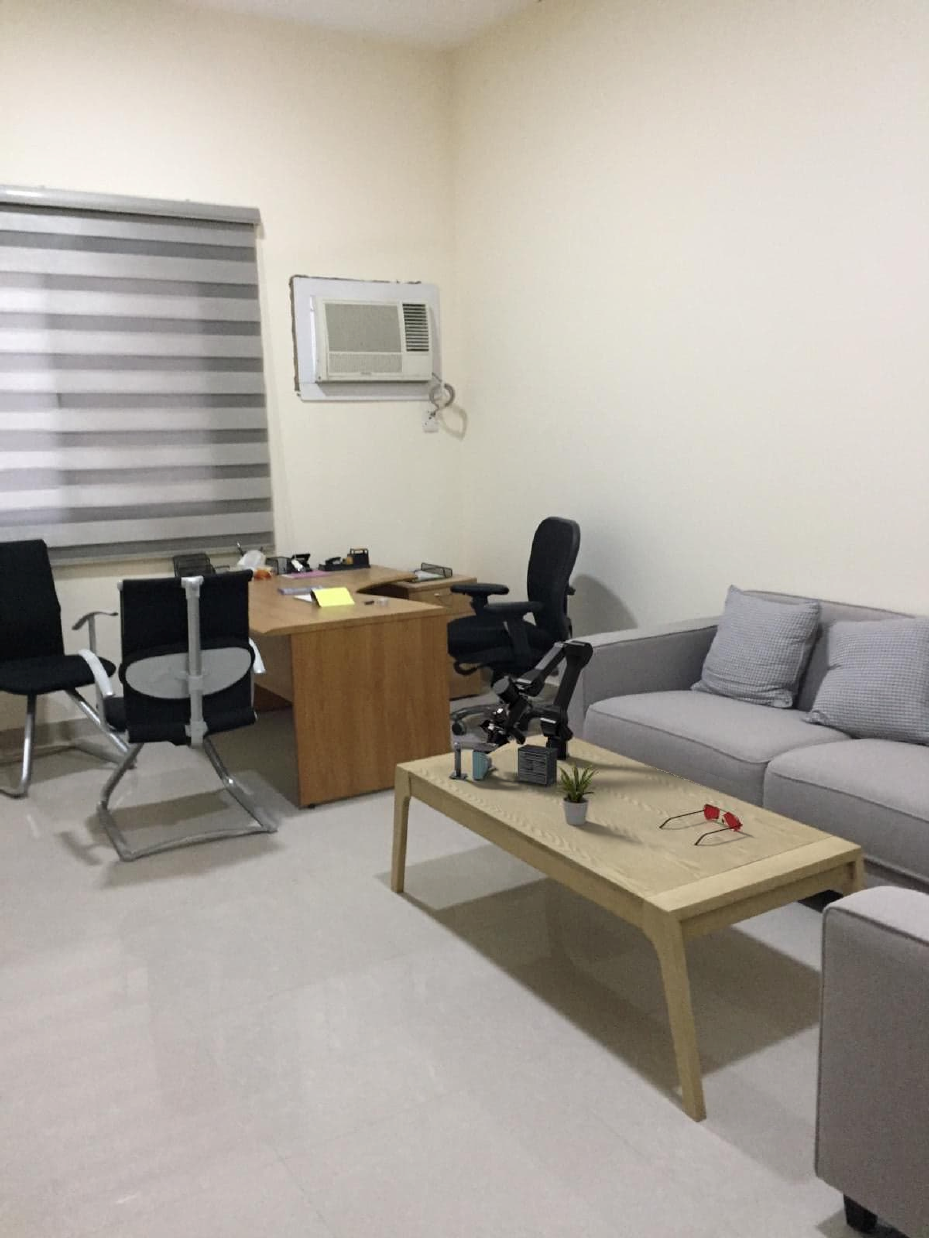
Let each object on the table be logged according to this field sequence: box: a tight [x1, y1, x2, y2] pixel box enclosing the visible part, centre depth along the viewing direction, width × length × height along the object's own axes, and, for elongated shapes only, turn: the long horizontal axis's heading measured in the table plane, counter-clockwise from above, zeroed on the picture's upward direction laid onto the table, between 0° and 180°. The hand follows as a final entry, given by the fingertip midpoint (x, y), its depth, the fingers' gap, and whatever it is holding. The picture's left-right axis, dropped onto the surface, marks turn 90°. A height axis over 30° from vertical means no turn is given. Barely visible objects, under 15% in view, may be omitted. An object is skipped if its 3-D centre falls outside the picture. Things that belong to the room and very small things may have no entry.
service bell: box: [486, 754, 496, 771], centre depth 316 cm, size 7×7×4 cm
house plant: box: [554, 761, 604, 826], centre depth 267 cm, size 14×14×16 cm
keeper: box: [448, 740, 499, 780], centre depth 305 cm, size 14×5×11 cm, turn 74°
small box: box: [517, 743, 558, 788], centre depth 301 cm, size 11×6×10 cm, turn 58°
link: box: [471, 750, 493, 780], centre depth 310 cm, size 15×5×8 cm, turn 169°
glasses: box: [658, 803, 743, 846], centre depth 261 cm, size 14×16×5 cm
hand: (485, 753), depth 307 cm, fingers closed
